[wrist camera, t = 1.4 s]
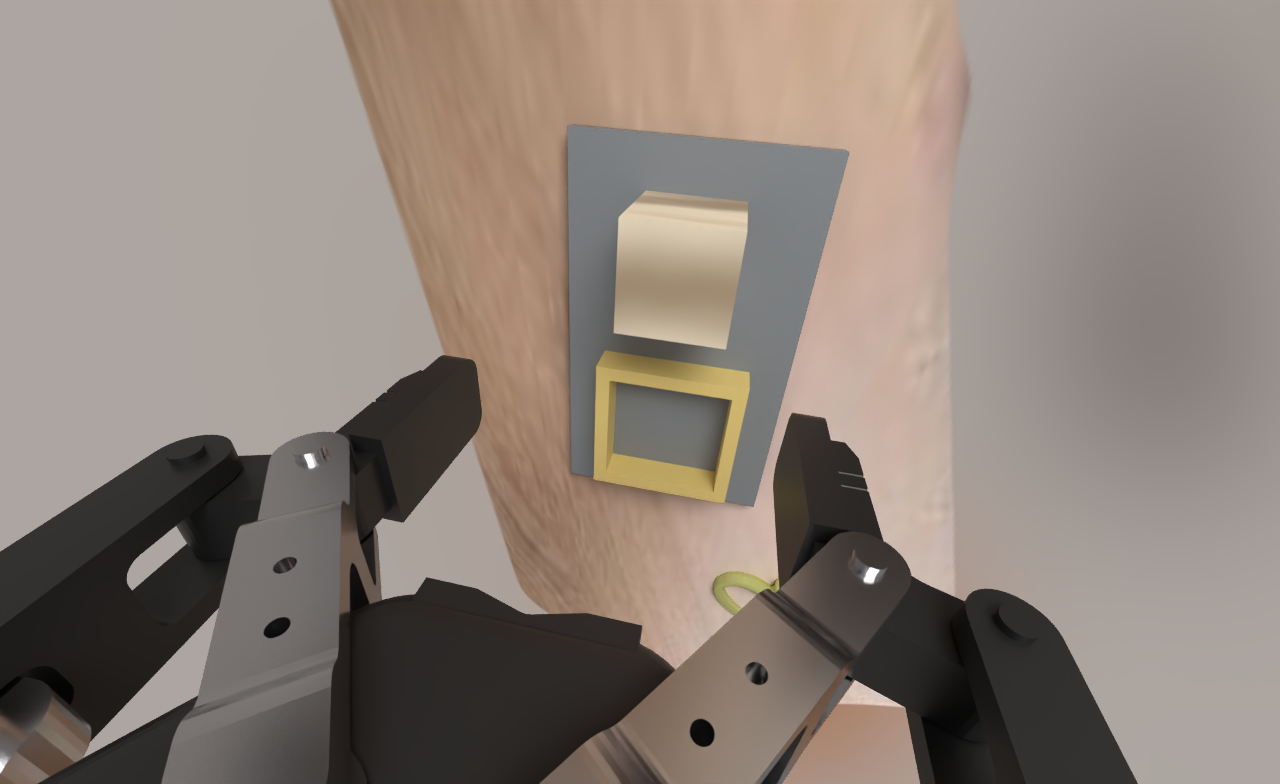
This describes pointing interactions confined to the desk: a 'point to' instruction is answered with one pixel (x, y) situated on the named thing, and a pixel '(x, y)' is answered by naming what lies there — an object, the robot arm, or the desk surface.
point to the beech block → (679, 267)
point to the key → (741, 581)
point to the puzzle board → (677, 372)
